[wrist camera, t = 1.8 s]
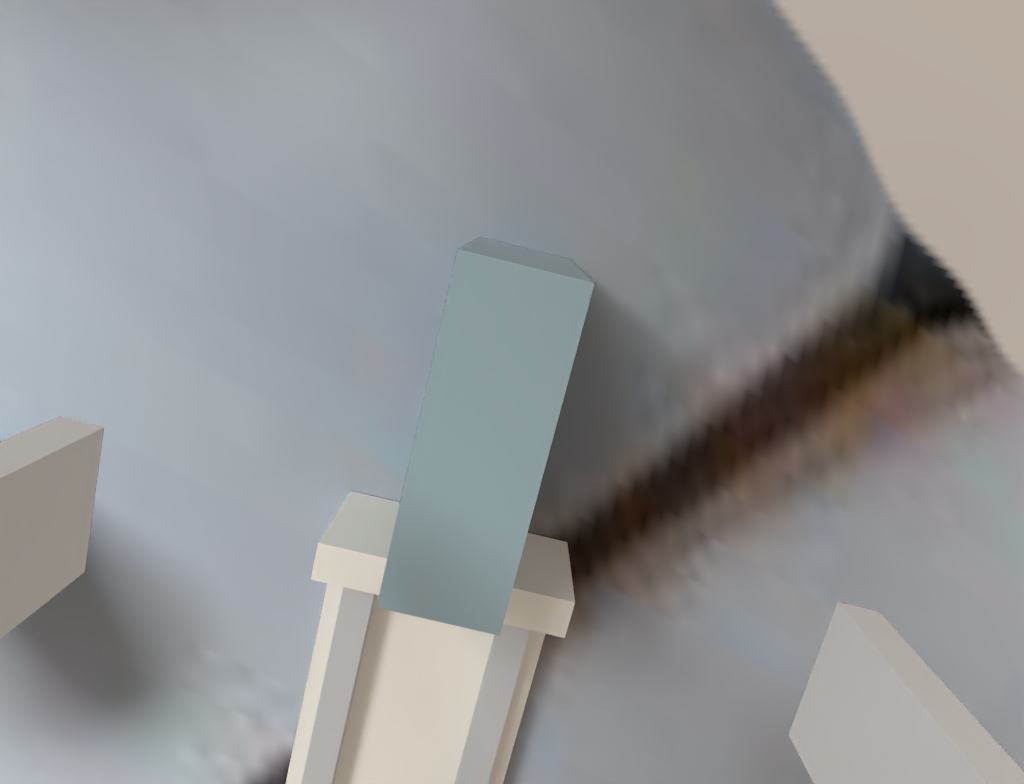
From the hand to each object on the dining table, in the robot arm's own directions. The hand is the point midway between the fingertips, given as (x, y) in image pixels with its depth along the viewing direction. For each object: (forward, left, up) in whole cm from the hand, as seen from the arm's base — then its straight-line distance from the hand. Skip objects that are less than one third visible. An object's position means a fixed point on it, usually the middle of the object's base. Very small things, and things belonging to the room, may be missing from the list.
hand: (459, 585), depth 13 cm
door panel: (0, 0, -17) cm, 17 cm away
